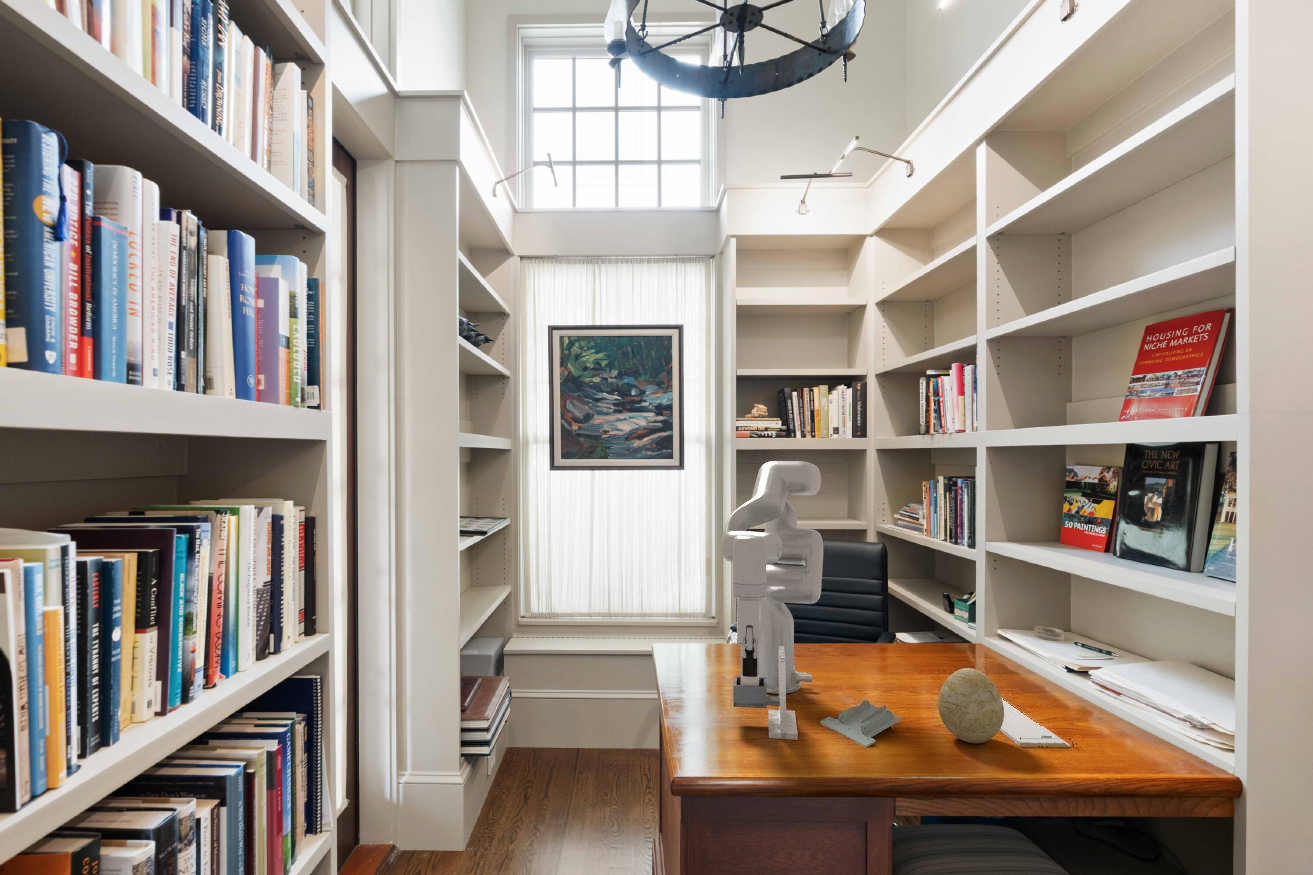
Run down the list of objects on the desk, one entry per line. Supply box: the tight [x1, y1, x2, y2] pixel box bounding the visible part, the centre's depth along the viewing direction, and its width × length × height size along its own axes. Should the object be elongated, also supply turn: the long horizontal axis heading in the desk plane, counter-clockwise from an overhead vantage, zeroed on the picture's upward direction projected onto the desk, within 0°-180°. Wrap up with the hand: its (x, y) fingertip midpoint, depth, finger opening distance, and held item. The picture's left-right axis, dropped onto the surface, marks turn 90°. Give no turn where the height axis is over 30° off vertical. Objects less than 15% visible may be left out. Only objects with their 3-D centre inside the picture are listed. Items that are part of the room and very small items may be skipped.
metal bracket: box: [819, 699, 903, 748], centre depth 152 cm, size 14×6×15 cm
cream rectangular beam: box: [740, 640, 759, 686], centre depth 156 cm, size 4×4×11 cm
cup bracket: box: [732, 645, 799, 740], centre depth 155 cm, size 14×14×16 cm
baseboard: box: [999, 697, 1078, 748], centre depth 159 cm, size 31×3×12 cm
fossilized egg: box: [937, 667, 1004, 744], centre depth 147 cm, size 13×13×15 cm
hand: (750, 672), depth 156 cm, fingers closed on cream rectangular beam, 4 cm apart
